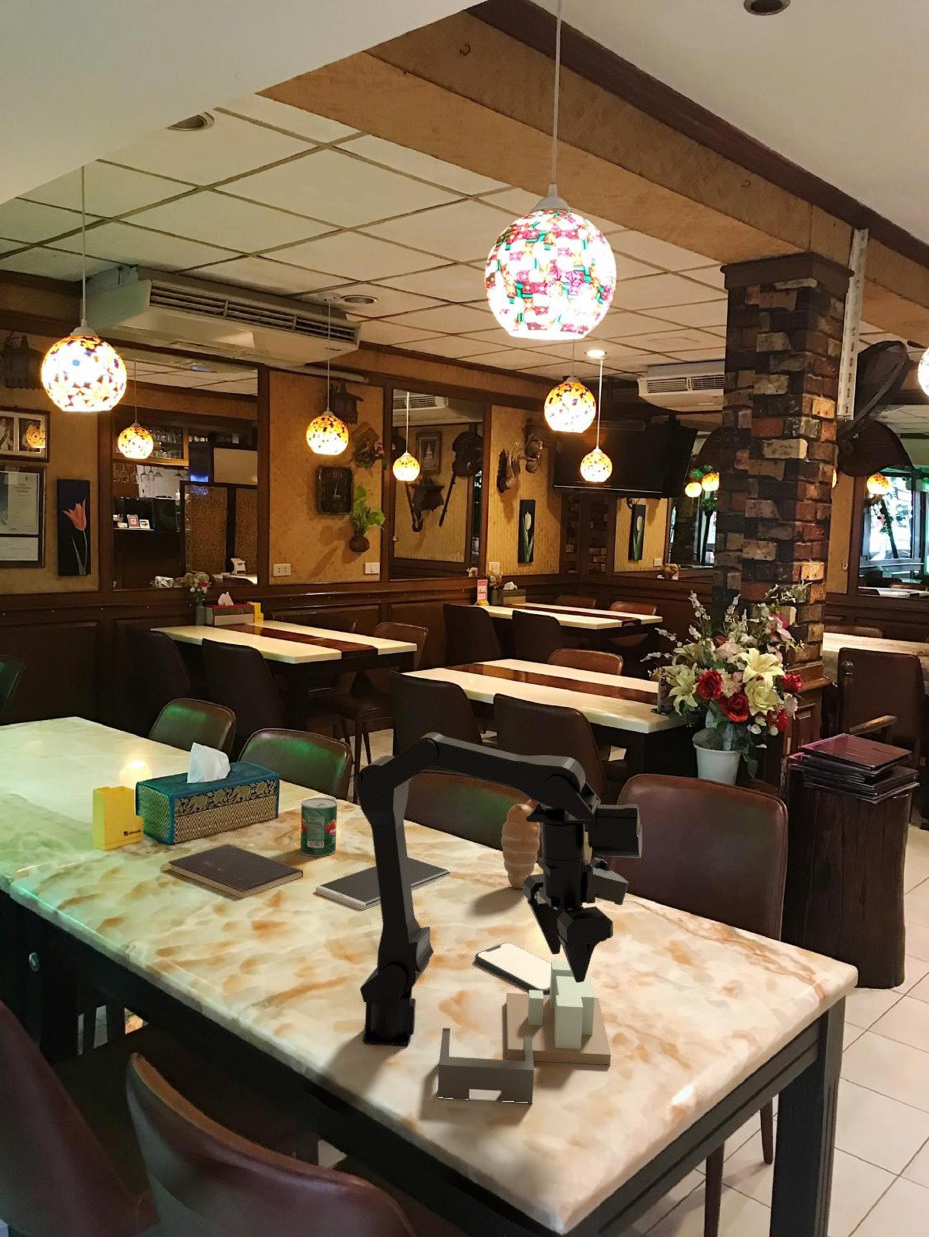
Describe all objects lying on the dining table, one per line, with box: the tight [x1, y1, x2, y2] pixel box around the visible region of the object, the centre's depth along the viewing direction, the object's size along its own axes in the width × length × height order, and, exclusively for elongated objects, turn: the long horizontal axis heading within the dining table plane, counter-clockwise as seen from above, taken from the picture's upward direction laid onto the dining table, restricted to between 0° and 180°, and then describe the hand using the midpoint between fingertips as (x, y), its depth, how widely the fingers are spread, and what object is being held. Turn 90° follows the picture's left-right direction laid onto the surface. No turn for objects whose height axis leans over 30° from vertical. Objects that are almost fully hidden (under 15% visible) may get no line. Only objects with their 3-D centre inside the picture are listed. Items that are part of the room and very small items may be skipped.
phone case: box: [474, 942, 551, 995], centre depth 157 cm, size 9×2×16 cm
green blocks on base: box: [505, 960, 612, 1066], centre depth 138 cm, size 14×16×8 cm
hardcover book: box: [168, 843, 304, 899], centre depth 196 cm, size 16×23×2 cm
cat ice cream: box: [500, 798, 541, 889], centre depth 193 cm, size 9×8×18 cm
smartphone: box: [315, 855, 452, 911], centre depth 194 cm, size 13×27×2 cm, turn 142°
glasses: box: [437, 1027, 535, 1104], centre depth 125 cm, size 9×12×4 cm
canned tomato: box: [299, 797, 338, 858], centre depth 211 cm, size 8×8×11 cm
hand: (567, 967), depth 128 cm, fingers open, 9 cm apart
